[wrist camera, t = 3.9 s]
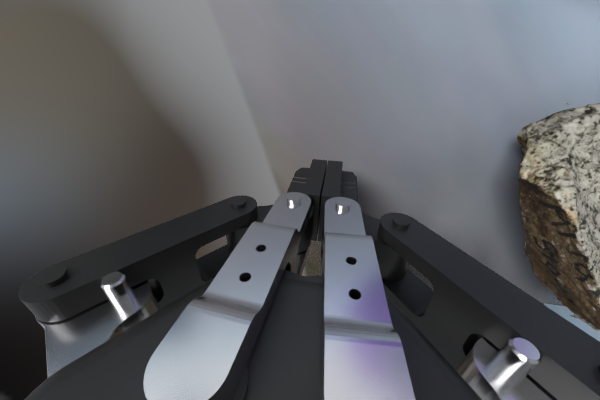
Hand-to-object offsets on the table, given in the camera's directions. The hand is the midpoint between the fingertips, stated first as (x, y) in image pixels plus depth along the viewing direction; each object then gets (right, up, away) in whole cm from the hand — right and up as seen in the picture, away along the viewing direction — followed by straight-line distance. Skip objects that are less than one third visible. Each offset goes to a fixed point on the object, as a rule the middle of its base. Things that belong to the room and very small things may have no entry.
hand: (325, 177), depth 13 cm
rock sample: (+12, +1, 0) cm, 13 cm away
